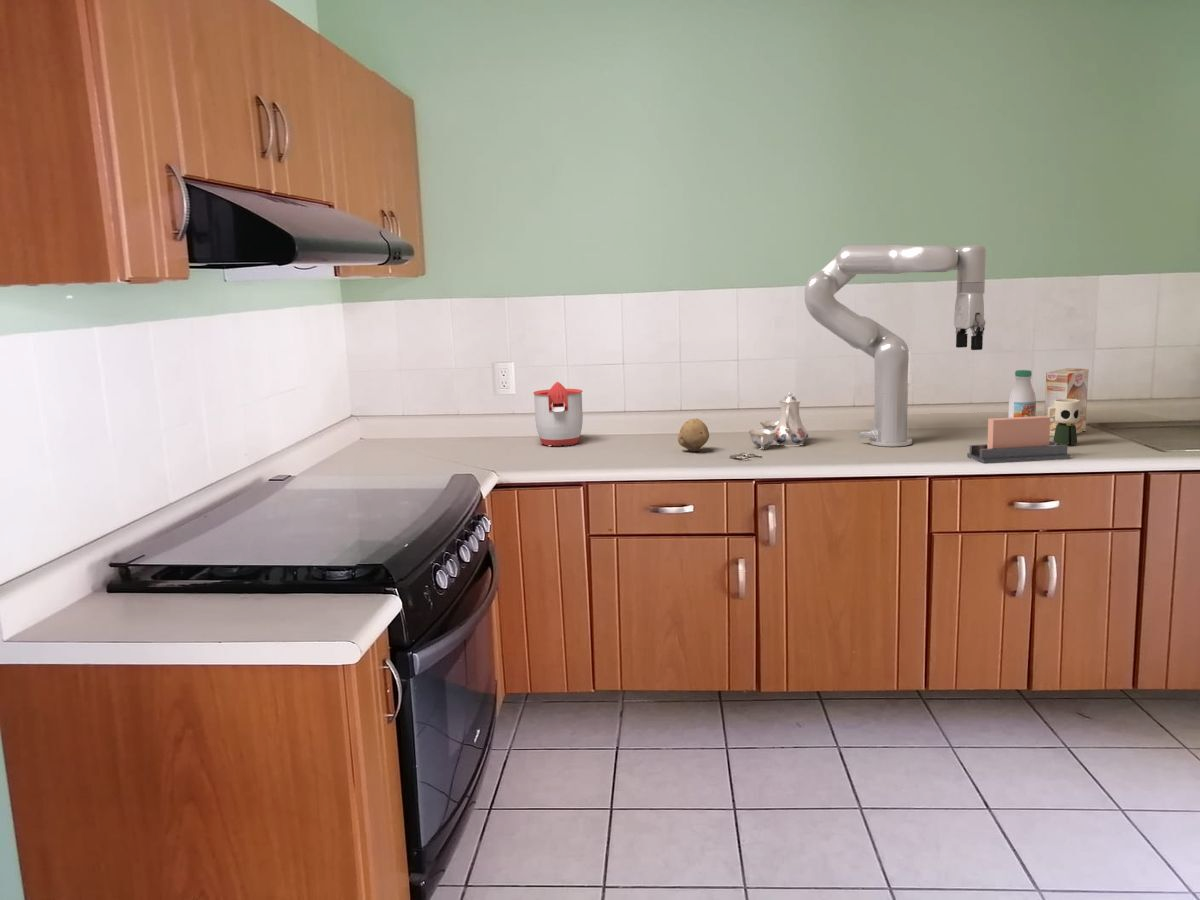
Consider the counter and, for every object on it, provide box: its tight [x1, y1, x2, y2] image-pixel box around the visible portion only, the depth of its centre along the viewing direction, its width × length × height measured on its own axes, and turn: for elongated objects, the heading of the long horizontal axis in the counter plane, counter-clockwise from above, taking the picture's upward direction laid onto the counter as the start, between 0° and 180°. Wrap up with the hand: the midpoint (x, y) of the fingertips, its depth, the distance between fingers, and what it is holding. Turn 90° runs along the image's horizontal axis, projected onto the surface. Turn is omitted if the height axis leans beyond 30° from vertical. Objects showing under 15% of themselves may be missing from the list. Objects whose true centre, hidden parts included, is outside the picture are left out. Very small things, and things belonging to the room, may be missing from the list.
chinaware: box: [748, 391, 809, 450], centre depth 314 cm, size 28×17×17 cm, turn 164°
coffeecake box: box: [1043, 367, 1090, 437], centre depth 314 cm, size 15×7×20 cm, turn 132°
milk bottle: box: [1007, 369, 1037, 418], centre depth 313 cm, size 8×8×20 cm
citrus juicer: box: [532, 381, 584, 447], centre depth 326 cm, size 16×17×20 cm
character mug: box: [1048, 399, 1087, 445], centre depth 296 cm, size 11×7×13 cm, turn 91°
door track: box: [966, 440, 1071, 464], centre depth 280 cm, size 24×10×4 cm, turn 95°
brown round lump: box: [677, 418, 710, 453], centre depth 306 cm, size 9×9×10 cm
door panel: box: [987, 415, 1051, 449], centre depth 279 cm, size 16×3×10 cm, turn 95°
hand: (968, 348), depth 298 cm, fingers open, 9 cm apart
